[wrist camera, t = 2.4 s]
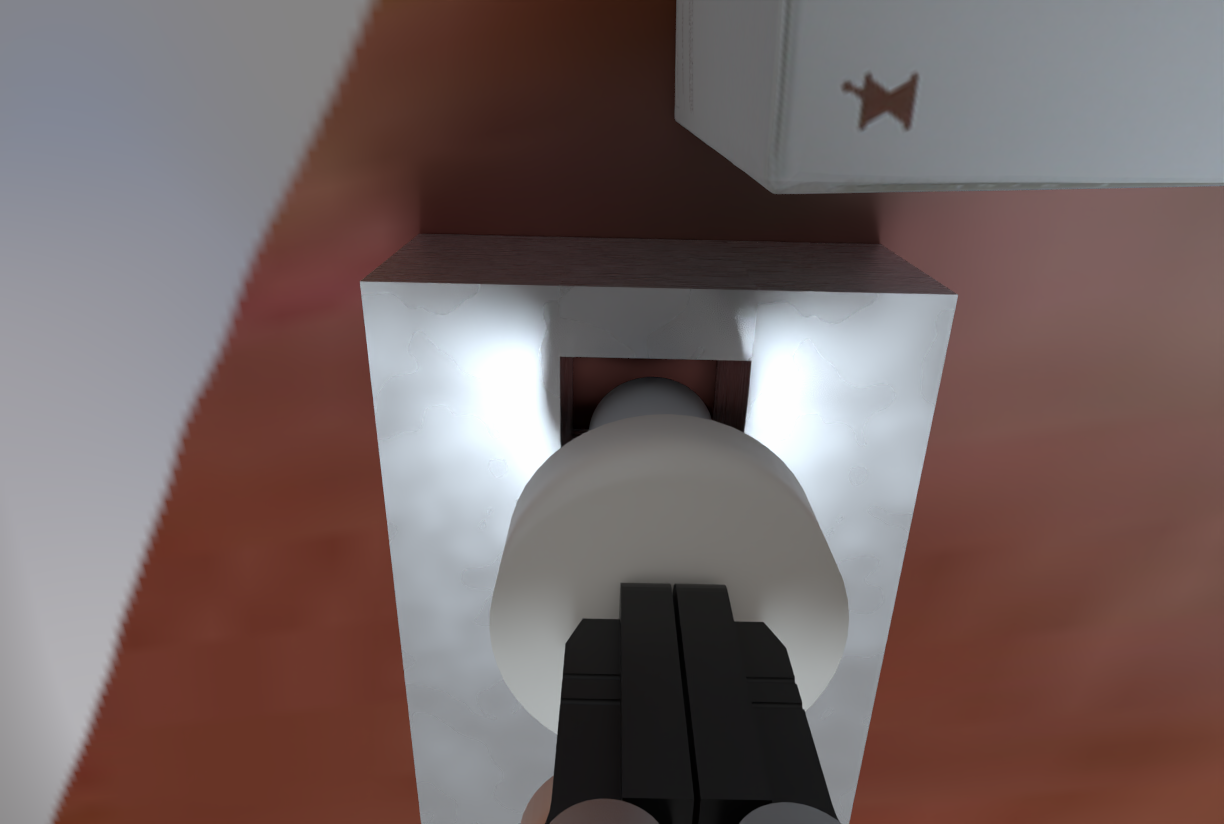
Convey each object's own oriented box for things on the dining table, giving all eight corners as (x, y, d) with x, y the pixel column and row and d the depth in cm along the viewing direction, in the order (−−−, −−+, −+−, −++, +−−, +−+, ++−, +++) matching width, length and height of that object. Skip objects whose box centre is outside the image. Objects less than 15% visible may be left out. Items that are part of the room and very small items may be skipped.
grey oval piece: (779, 326, 16) (875, 480, 10) (755, 535, 18) (823, 767, 12) (532, 321, 16) (481, 471, 10) (537, 531, 18) (496, 760, 12)
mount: (880, 243, 20) (957, 294, 15) (789, 813, 28) (821, 955, 24) (419, 233, 20) (359, 281, 15) (464, 806, 28) (435, 946, 24)
